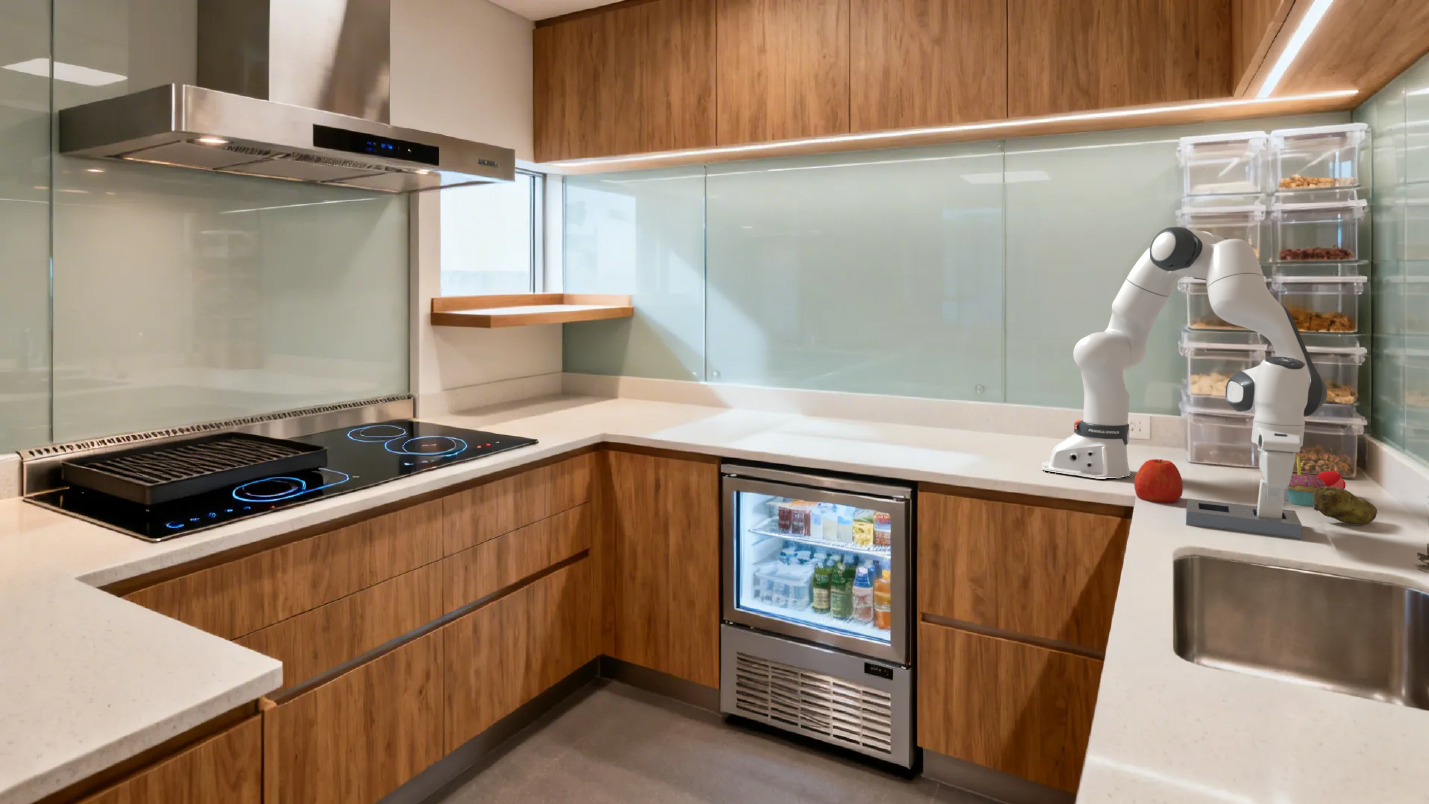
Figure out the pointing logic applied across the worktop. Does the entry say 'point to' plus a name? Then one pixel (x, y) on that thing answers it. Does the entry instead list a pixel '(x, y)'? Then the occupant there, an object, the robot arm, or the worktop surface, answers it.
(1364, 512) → the potato
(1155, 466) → the apple
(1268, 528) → the panel
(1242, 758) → the worktop surface
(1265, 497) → the plug
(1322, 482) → the cupcake
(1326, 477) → the cap
